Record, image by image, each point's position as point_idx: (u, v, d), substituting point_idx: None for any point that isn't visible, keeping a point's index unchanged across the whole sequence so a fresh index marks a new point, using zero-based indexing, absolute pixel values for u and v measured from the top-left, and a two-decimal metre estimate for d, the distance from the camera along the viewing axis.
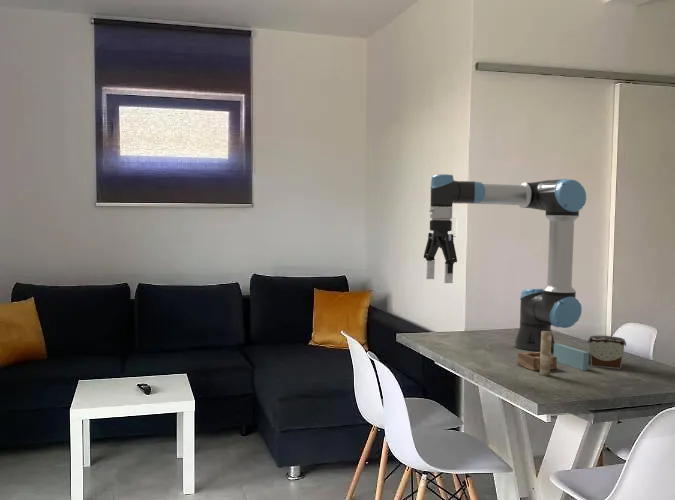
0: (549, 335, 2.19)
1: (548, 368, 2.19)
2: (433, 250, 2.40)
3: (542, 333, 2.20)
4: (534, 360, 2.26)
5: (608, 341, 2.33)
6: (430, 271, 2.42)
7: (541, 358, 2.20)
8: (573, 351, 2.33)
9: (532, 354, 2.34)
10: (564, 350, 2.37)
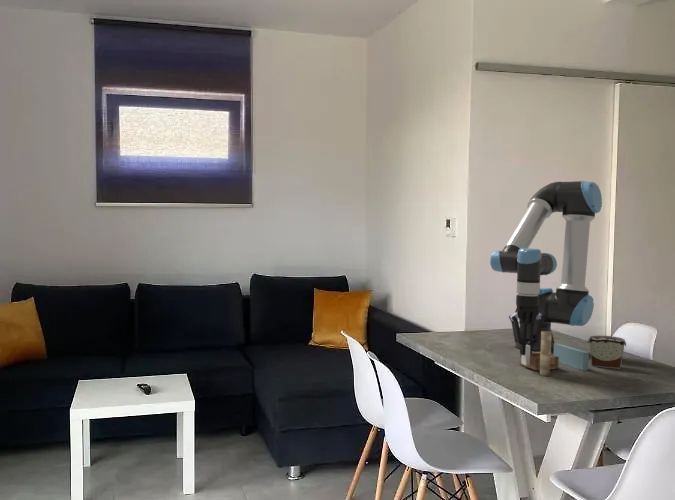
0: (549, 335, 2.19)
1: (548, 368, 2.19)
2: (528, 330, 2.30)
3: (542, 333, 2.20)
4: (536, 360, 2.26)
5: (608, 341, 2.33)
6: None
7: (541, 358, 2.20)
8: (573, 351, 2.33)
9: (534, 354, 2.34)
10: (564, 350, 2.37)
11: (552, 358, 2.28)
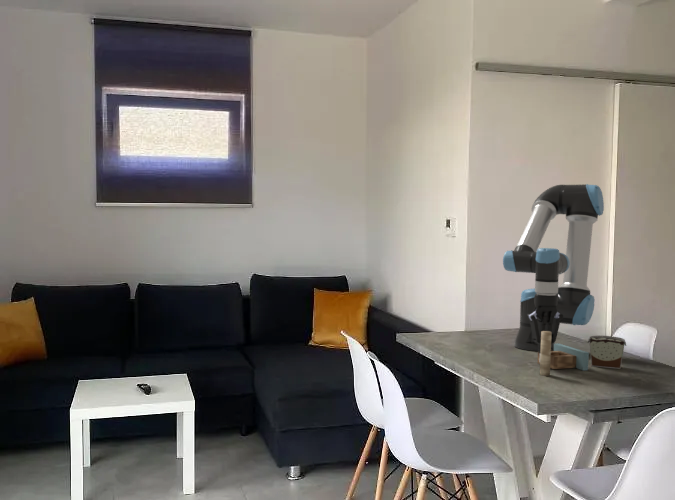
0: (549, 335, 2.19)
1: (548, 368, 2.19)
2: (546, 329, 2.32)
3: (542, 333, 2.20)
4: (554, 359, 2.29)
5: (608, 341, 2.33)
6: None
7: (541, 358, 2.20)
8: (573, 351, 2.33)
9: (552, 353, 2.36)
10: (564, 350, 2.37)
11: (570, 357, 2.31)
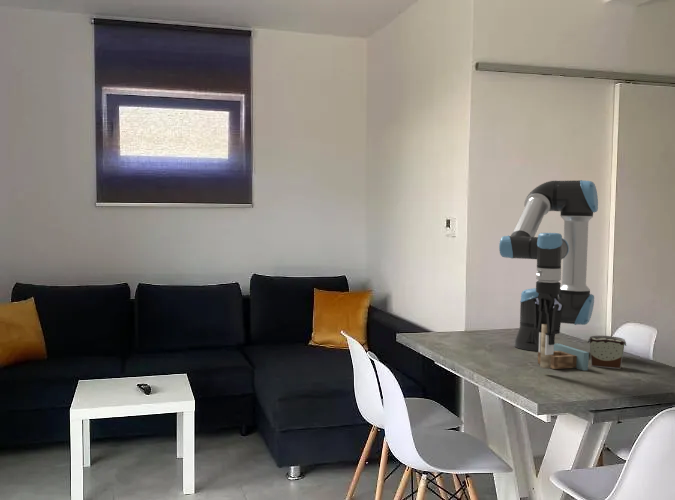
0: None
1: (549, 360, 2.20)
2: (544, 317, 2.22)
3: (542, 326, 2.20)
4: (554, 359, 2.29)
5: (608, 341, 2.33)
6: None
7: (542, 351, 2.20)
8: (573, 351, 2.33)
9: None
10: (564, 350, 2.37)
11: (570, 357, 2.31)
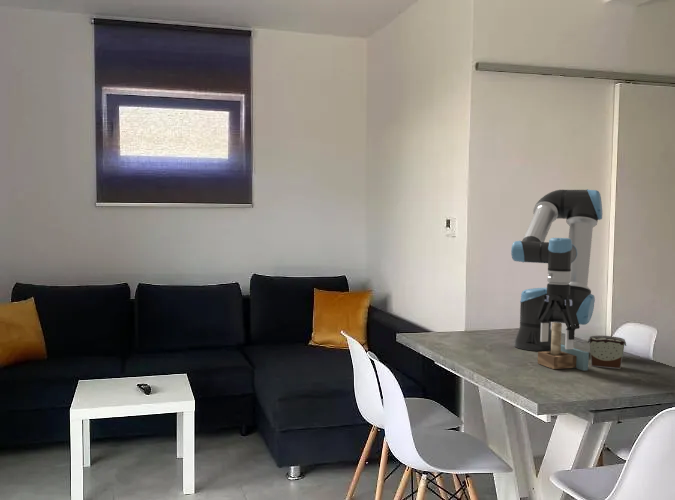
0: (559, 326, 2.32)
1: None
2: (549, 313, 2.37)
3: (553, 324, 2.33)
4: (554, 359, 2.29)
5: (608, 341, 2.33)
6: (544, 334, 2.40)
7: (552, 348, 2.33)
8: (573, 351, 2.33)
9: None
10: (564, 350, 2.37)
11: (570, 357, 2.31)
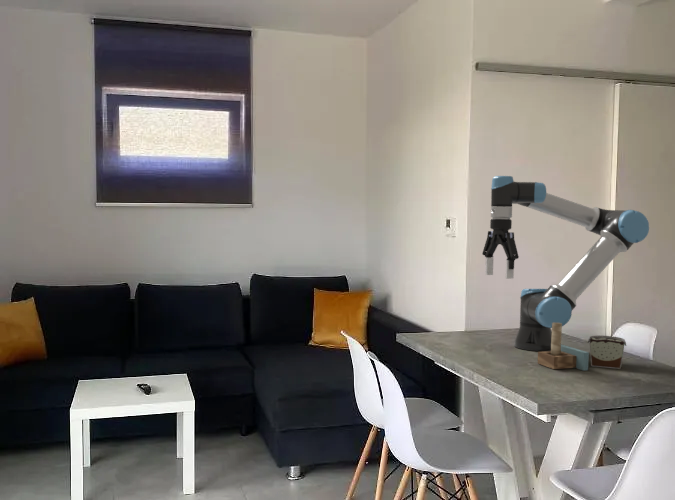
0: (560, 326, 2.32)
1: None
2: (493, 248, 2.54)
3: (553, 324, 2.33)
4: (554, 359, 2.29)
5: (608, 341, 2.33)
6: (489, 267, 2.56)
7: (552, 348, 2.33)
8: (573, 351, 2.33)
9: None
10: (564, 350, 2.37)
11: (570, 357, 2.31)
